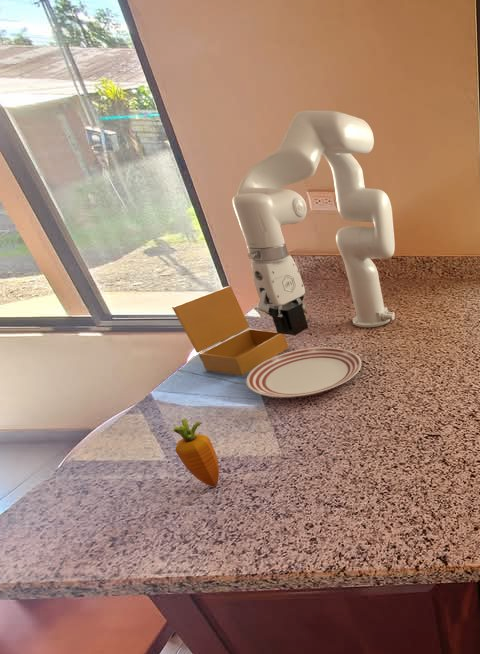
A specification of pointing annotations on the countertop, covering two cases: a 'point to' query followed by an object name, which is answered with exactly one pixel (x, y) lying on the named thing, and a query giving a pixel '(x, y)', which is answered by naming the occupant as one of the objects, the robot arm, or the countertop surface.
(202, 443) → the carrot
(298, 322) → the black block
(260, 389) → the dinner plate
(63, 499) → the countertop surface
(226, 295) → the hinged box lid
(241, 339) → the box
